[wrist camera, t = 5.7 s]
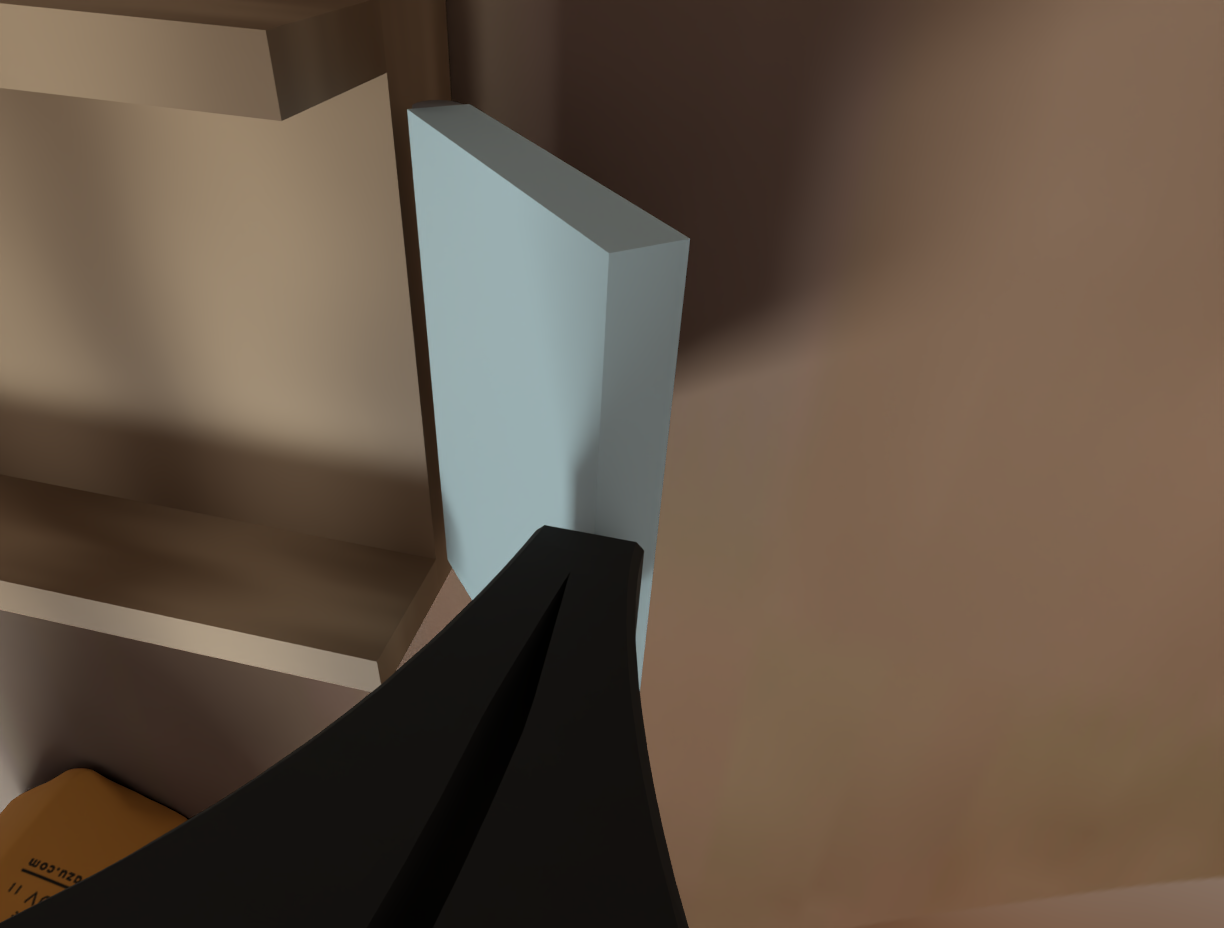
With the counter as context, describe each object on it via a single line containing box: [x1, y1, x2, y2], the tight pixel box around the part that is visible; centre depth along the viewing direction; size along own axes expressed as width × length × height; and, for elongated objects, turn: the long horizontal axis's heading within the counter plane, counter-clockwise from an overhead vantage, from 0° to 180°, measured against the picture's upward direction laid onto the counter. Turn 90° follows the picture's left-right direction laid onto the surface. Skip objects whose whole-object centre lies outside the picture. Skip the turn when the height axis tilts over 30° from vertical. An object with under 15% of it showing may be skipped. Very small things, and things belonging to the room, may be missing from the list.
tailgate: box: [407, 100, 690, 690], centre depth 13 cm, size 1×9×6 cm
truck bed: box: [0, 0, 452, 692], centre depth 16 cm, size 14×12×6 cm
